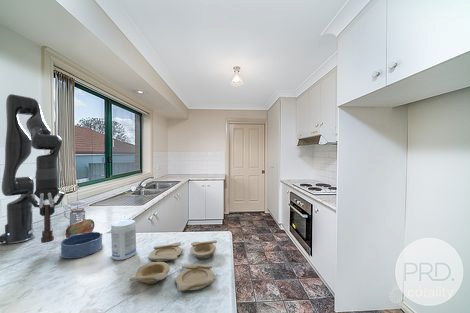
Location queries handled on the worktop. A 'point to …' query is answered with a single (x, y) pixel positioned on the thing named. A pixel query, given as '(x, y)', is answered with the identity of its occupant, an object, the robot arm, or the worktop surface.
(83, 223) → the tin
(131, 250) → the supplement tub
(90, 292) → the worktop surface
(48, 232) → the muddler
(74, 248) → the bowl
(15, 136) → the robot arm
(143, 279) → the tableware set
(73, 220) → the french press
